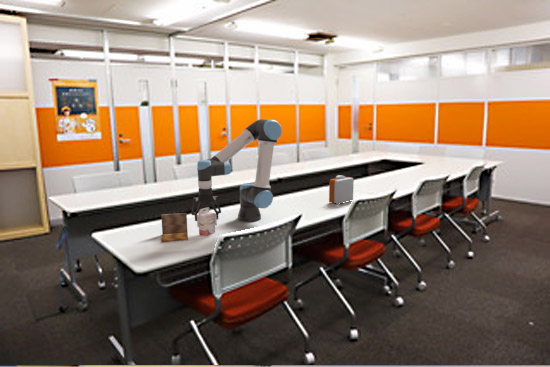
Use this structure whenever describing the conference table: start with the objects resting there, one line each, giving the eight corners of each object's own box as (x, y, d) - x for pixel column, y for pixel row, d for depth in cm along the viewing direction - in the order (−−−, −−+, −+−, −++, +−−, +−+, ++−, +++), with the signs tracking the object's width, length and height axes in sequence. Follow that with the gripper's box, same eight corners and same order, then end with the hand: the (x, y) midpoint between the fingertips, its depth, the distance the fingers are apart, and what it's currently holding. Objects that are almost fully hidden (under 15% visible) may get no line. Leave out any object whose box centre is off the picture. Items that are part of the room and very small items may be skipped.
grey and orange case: (344, 199, 307) (345, 173, 303) (353, 201, 301) (354, 175, 297) (328, 203, 296) (329, 176, 292) (337, 205, 289) (338, 178, 285)
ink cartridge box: (204, 236, 222) (203, 211, 219) (198, 234, 225) (197, 209, 222) (215, 232, 228) (214, 207, 225) (210, 230, 231) (209, 206, 228)
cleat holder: (187, 232, 228) (186, 212, 226) (187, 240, 216) (186, 219, 213) (162, 234, 225) (161, 214, 223) (161, 242, 212) (160, 221, 210)
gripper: (224, 185, 227) (225, 222, 231) (185, 187, 222) (187, 225, 227) (225, 187, 220) (227, 225, 224) (185, 190, 215) (187, 229, 219)
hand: (207, 225), depth 225 cm, fingers closed on ink cartridge box, 9 cm apart
